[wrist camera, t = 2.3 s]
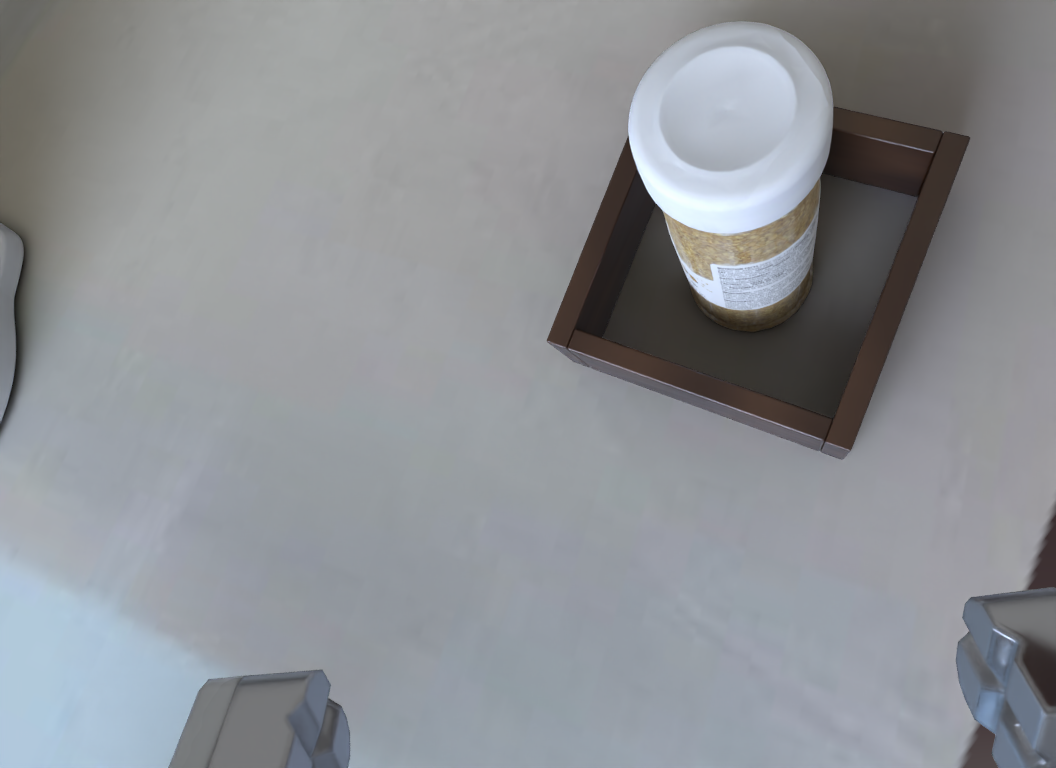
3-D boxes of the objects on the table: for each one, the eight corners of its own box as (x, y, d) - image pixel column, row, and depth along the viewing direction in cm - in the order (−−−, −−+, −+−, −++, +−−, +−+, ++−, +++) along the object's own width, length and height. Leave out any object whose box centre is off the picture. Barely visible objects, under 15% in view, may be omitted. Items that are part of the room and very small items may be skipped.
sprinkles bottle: (680, 234, 32) (609, 47, 19) (801, 205, 31) (810, -15, 18) (701, 347, 31) (642, 228, 18) (827, 321, 30) (856, 176, 17)
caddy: (572, 361, 33) (545, 341, 29) (670, 114, 33) (655, 65, 29) (843, 460, 29) (850, 451, 25) (949, 183, 29) (971, 136, 26)
